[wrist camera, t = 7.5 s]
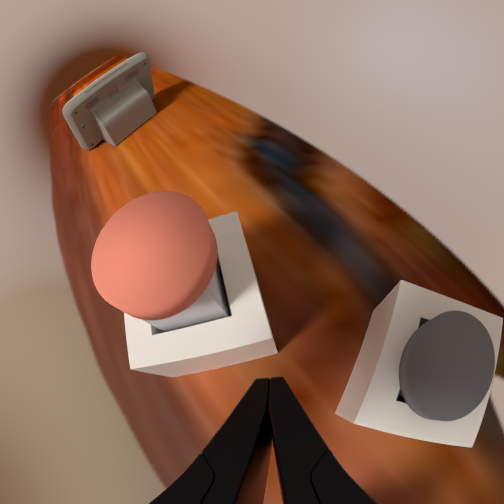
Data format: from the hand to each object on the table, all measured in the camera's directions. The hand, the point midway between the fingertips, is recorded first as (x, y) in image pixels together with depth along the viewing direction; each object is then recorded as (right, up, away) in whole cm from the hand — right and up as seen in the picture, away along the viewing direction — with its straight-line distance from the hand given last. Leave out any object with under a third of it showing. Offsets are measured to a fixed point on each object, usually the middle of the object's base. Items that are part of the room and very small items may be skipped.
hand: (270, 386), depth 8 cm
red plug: (-5, +1, +12) cm, 12 cm away
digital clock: (-22, +25, +32) cm, 46 cm away
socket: (+12, -6, +11) cm, 17 cm away
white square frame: (-4, -1, +15) cm, 16 cm away
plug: (+12, -6, +10) cm, 17 cm away
